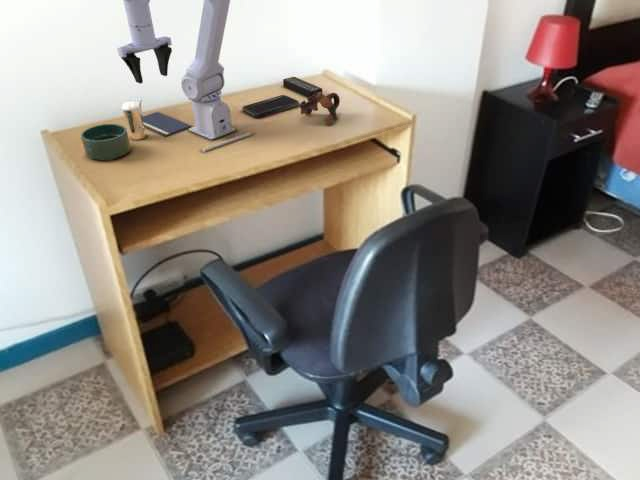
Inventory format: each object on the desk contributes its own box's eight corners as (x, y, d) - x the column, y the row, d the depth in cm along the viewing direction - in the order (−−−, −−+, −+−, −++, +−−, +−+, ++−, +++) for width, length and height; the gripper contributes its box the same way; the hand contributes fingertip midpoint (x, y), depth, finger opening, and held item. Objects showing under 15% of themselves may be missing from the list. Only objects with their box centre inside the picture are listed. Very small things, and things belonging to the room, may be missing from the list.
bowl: (140, 151, 141) (135, 131, 138) (101, 165, 135) (95, 145, 132) (116, 140, 147) (111, 120, 143) (78, 153, 140) (72, 133, 137)
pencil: (253, 133, 150) (204, 150, 141) (252, 135, 151) (203, 153, 142) (251, 130, 150) (202, 148, 141) (250, 132, 151) (201, 150, 142)
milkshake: (145, 141, 146) (136, 103, 140) (125, 139, 147) (116, 101, 141) (154, 134, 149) (145, 96, 143) (135, 132, 150) (126, 95, 144)
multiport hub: (294, 83, 182) (294, 76, 180) (323, 96, 173) (322, 88, 172) (282, 86, 179) (282, 79, 178) (311, 99, 171) (311, 91, 169)
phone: (240, 107, 162) (283, 94, 170) (241, 110, 163) (283, 98, 171) (257, 114, 157) (300, 101, 166) (257, 118, 158) (300, 105, 166)
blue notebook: (191, 127, 154) (190, 125, 153) (165, 136, 149) (165, 134, 148) (157, 113, 161) (157, 111, 161) (132, 121, 156) (131, 119, 156)
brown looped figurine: (324, 131, 153) (307, 103, 150) (305, 136, 161) (289, 109, 157) (353, 108, 158) (338, 80, 155) (334, 113, 166) (319, 87, 163)
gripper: (155, 16, 151) (165, 69, 160) (105, 27, 142) (118, 82, 150) (172, 21, 148) (181, 74, 156) (121, 32, 139) (134, 88, 147)
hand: (151, 78), depth 153 cm, fingers open, 7 cm apart
